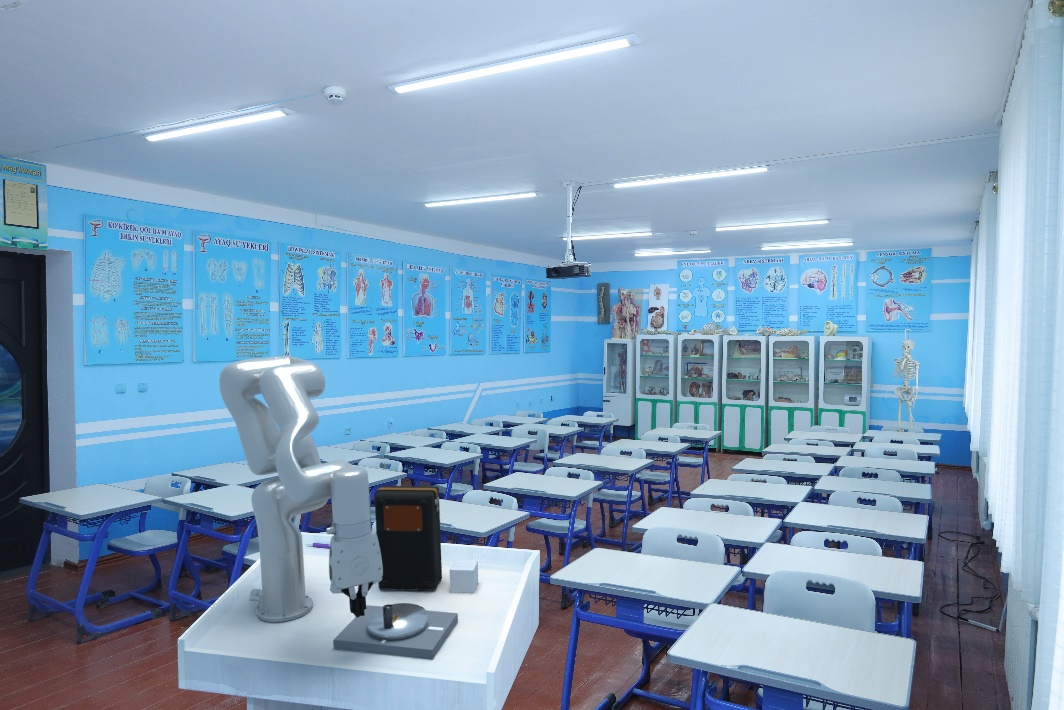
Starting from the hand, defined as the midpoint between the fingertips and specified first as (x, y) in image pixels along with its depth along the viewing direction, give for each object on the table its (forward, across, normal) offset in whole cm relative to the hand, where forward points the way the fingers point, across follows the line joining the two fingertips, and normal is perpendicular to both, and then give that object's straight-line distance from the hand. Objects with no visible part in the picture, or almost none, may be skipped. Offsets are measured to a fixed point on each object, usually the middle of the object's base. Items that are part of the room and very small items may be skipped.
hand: (358, 614), depth 147 cm
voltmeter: (+8, +21, +24) cm, 33 cm away
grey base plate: (+8, +9, +3) cm, 13 cm away
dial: (+6, +9, +3) cm, 11 cm away
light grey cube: (+8, +32, +15) cm, 36 cm away
